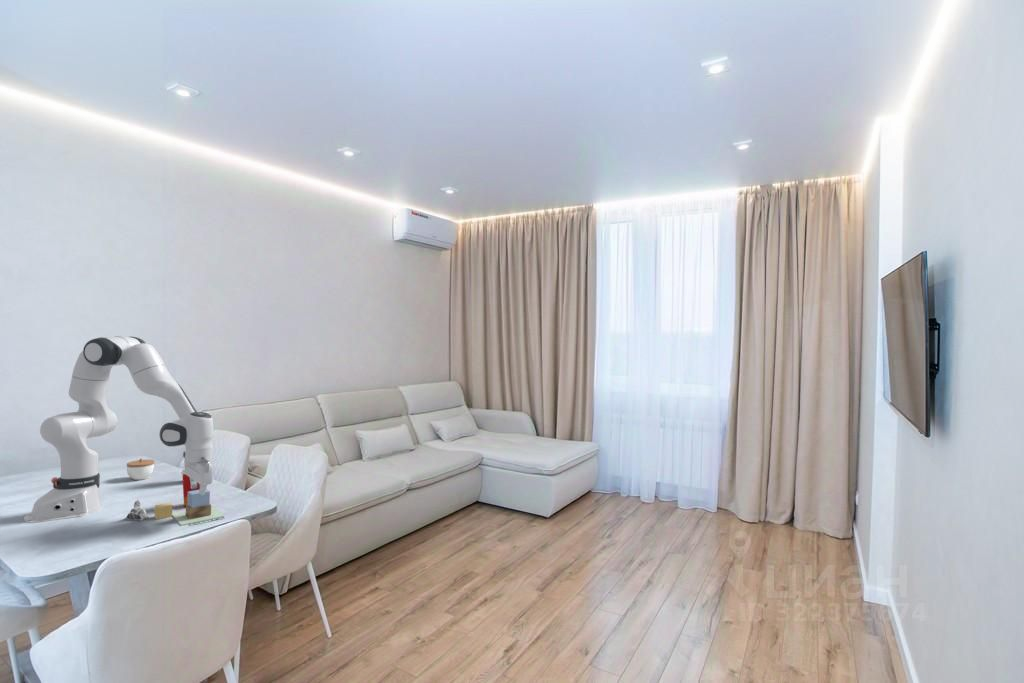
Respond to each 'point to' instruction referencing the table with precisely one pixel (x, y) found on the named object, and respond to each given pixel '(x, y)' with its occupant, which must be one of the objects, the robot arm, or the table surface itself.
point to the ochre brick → (163, 511)
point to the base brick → (198, 511)
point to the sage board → (184, 520)
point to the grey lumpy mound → (137, 513)
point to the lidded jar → (140, 469)
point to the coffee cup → (187, 486)
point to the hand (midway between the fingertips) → (197, 491)
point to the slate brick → (198, 498)
